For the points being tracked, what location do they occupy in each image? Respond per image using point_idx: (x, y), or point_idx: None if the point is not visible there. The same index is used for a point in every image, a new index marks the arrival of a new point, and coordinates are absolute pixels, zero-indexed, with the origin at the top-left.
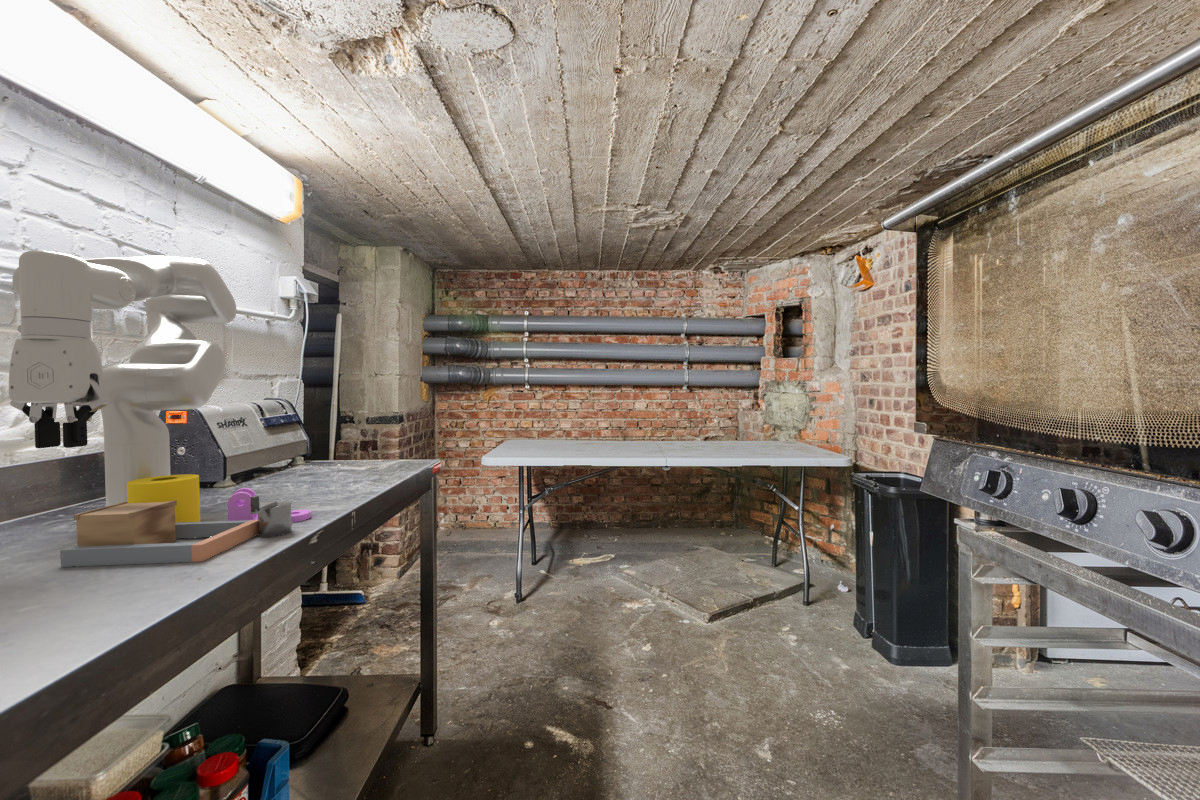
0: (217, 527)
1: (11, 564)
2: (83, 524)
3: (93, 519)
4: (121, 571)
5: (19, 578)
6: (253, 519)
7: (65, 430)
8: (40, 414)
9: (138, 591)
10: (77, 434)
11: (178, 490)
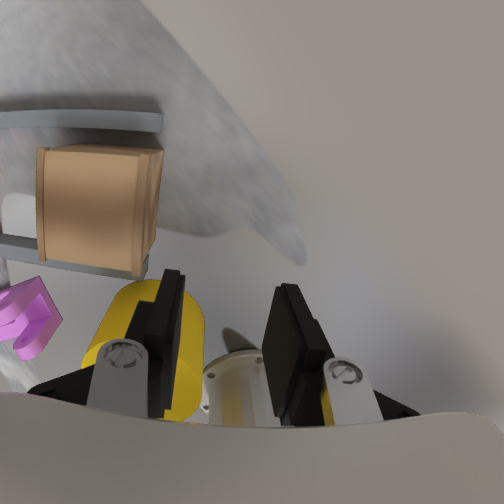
0: (19, 243)
1: (265, 155)
2: (137, 154)
3: (114, 153)
4: (58, 80)
5: (188, 71)
6: (10, 291)
7: (159, 307)
8: (323, 402)
9: (8, 16)
10: (134, 316)
11: (91, 342)
